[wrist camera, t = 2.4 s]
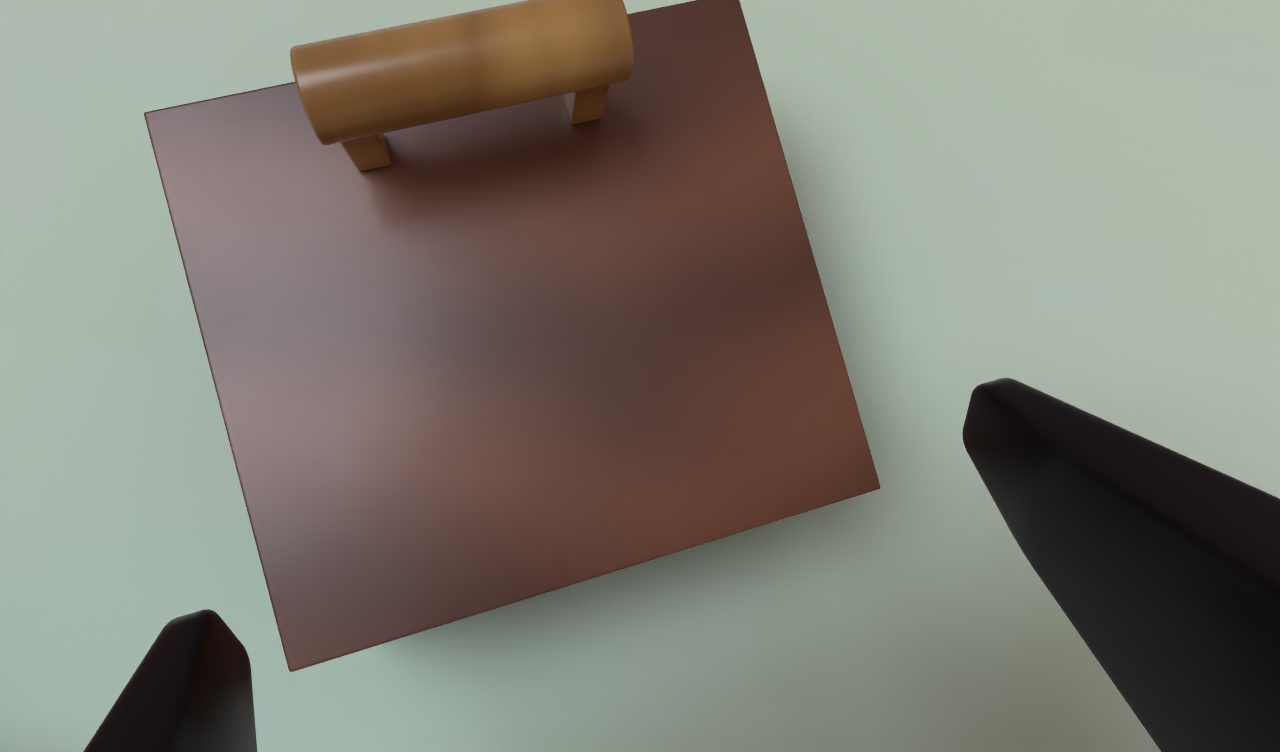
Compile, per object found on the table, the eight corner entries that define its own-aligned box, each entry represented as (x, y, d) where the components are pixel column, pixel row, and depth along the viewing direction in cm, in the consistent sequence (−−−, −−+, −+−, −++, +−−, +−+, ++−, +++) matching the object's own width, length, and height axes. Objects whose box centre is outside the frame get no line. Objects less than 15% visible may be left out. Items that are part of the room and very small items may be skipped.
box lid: (158, 125, 17) (25, 12, 12) (729, 7, 19) (792, -128, 14) (298, 663, 16) (213, 747, 12) (868, 486, 18) (978, 502, 14)
